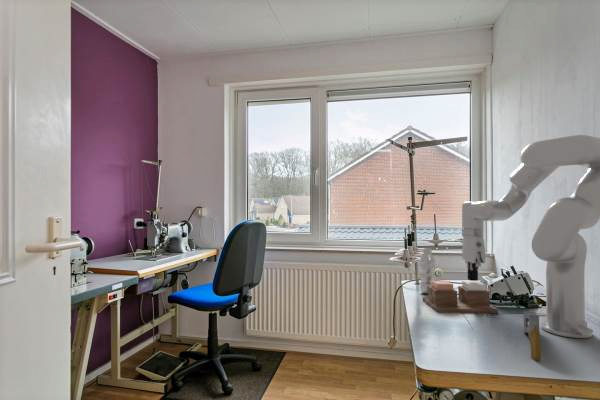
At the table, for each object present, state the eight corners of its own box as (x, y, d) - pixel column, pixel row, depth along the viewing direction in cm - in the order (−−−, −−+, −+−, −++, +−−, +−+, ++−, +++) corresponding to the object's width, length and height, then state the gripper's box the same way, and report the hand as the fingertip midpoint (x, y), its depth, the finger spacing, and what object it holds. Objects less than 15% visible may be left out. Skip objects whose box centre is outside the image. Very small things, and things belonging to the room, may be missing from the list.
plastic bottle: (416, 292, 155) (416, 248, 155) (427, 291, 158) (427, 247, 158) (427, 296, 149) (427, 250, 149) (438, 294, 152) (438, 249, 152)
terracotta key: (453, 297, 130) (453, 284, 130) (437, 297, 131) (437, 284, 131) (447, 293, 136) (446, 280, 136) (431, 293, 137) (431, 280, 137)
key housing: (497, 313, 125) (497, 293, 125) (436, 312, 126) (436, 293, 126) (476, 301, 141) (476, 284, 141) (422, 300, 142) (422, 283, 142)
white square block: (485, 297, 130) (485, 284, 130) (469, 297, 130) (469, 284, 130) (477, 293, 136) (477, 281, 136) (462, 293, 136) (462, 280, 136)
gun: (537, 363, 103) (534, 312, 108) (545, 362, 84) (541, 299, 89) (524, 361, 105) (522, 311, 110) (529, 359, 85) (527, 298, 90)
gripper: (492, 234, 126) (492, 284, 126) (473, 231, 141) (473, 276, 141) (471, 234, 126) (471, 284, 126) (454, 231, 141) (454, 276, 141)
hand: (472, 280), depth 133 cm, fingers closed
